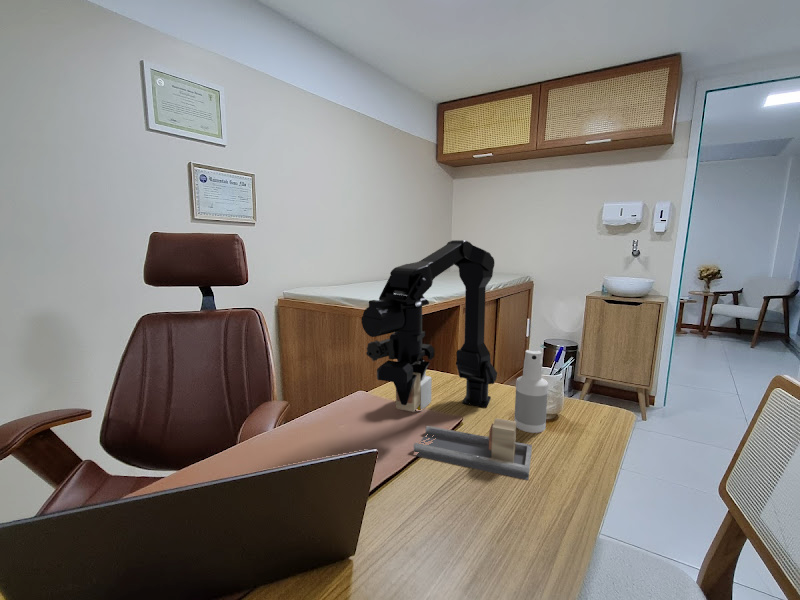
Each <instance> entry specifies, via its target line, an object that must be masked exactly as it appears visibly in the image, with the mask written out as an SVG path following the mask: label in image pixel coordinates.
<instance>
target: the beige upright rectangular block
mask: <svg viewBox="0 0 800 600" xmlns="http://www.w3.org/2000/svg"><path fill="white" fill-rule="evenodd" d="M489 427H490V428H489V431H488V432H489V433H488V434H489V436H488V437H489V450H492V454H491V458H492V459H497V460H502V461H507V462H512V463H513V462H514V457H515V442H517V441H516V437H517V427H516V421H514V420H509V419H503V418H497V417H496V418H494V421H493V423H491V425H490V426H489Z"/></svg>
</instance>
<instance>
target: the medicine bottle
mask: <svg viewBox="0 0 800 600" xmlns="http://www.w3.org/2000/svg"><path fill="white" fill-rule="evenodd" d="M426 371H427V370H426ZM426 371H425V374H424V376H423V378H422V380H421V395H420V405H419V407H418V408H417V409H418V410H421V409H423V408H424V409H426V407H428V405H429V404H430V403H431V402H432V379H433V378H432V377H431V376H429V375H427V374H426V373H427V372H426ZM424 409H423V410H424Z"/></svg>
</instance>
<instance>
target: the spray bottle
mask: <svg viewBox="0 0 800 600" xmlns="http://www.w3.org/2000/svg"><path fill="white" fill-rule="evenodd" d="M542 353H543V352H542V351H541V350H530V349H526V350H525V356H524V360H523V369H522V375H521V376H519V377H517V378H516V381H515V400H514V401H515V403H514V420H513V421H516V429H518V430H520V431H523V432H526V433H531V434H533V433H534V434H538V433H541V432H544V431H545V430H546V424H547V421H546V420H547V407H548V391H549V382H548V381H547V380H546V379H545V378H543V360H542V355H543V354H542Z"/></svg>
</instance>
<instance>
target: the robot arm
mask: <svg viewBox="0 0 800 600" xmlns="http://www.w3.org/2000/svg"><path fill="white" fill-rule="evenodd" d="M453 266H455V267H457V268H458V273H459V278H460V280H461V282H462V283H463V285H464V288H465V293H464V294H465V296H464V298H465V299H464V300H465V303H464V306H465V307H464V341H463V344H462V345H461V347H460V348H459V349H457V350H456V361H455V365H456V368H457V372H458V376H459V378H461V379H466V383H465V384H466V386H465V387H466V389H465V390H466V391H465V392H466V393H465V396H464V398H463V400H462V404H464V405H469V406H476V407H483V408H488V406H489V405H490V403H491V402H490V401H491V399H492V396H490V395H489V385H493V384H495V382H496V381H497V377H498V371H497V370H496V369H495V367H494V365H493V364H492V363H491V352H490V350H489V349H488V347H487V345H486V344H485V322H486V321H485V320H486V319H485V318H486V317H485V316H486V288H487V286H488V284H489V282H490V281H491V279H492V278H493V275H494V274H493V273H494V269H495V268H494V267H495V258H494V257H493V256H492V254H491V253H490V252H488V251H487V250H485V249H483V248H481V247H478V246H476V245H473V244H472V243H471V242H470V241H467V240H465V239H463V240H462V239H461V240H459V239H458V240H454V239H453V240H450V241H448V242H447V243H446V245H444V246H442V247H440V248H439V249H437V250H436V251H435V252H432V253H431V254H429V255H427V256H426V257H424V258H422V259H421V260H419V261H416V262H410V263H406V264H401V265H398V266H396V267H394V268H393V269H392V270H391V271H390V275H389V277H388V280H387V282H386V283H385V285H384V287H383V289H382V291H381V293H380V295H379V298H378V300H377V299H371V300H369V301H368V307H366V308H365V309H364V311H363V314H362V316H361V325H362V329H363V330H364V333H366V335H368V337H371V338H376V337H380V336H381V337H382V336H384V335H388V334H390V335H389V338H387V339H383V340H380V341H378V339H377V340H374V341H370V342H368V343H367V347H366V353H365V354H366V356H368V357H369V358H370V359H371V360H372V362H375V361H377V360H379V359H382V358H383V359H384V358H386V357H388V360H386V361H385V362H384V363H382V364H381V365H380V366H379V367H377V369H376V379H377V380H378V381H383V382H391V383H393V384H394V387H395V391H396V390H397V393H398V396H399V399H400V402H401V404H402V405H406V404H407V402H408V399H409V397H410V394H411V391H412V388H413V385H414V382H415V380H416V377H417V375H413V372H415V373H421V380H422V378H423V376H424V374H425V371H427V369H428V367H429V366H430V361H432V360H433V359H434V357H435V348H434V347H433V345H432V344H426V343H423V338H424V337H426V331H425V330H424V331H423V306H427V305H429V303H430V301H429V300H428V299H427V298H426V297H425V296H424V294H425V293H426V292H427V291H428V290H429V289H430V288H432V286H433V282H434V279H435V278H436V277H438V276H440V275H441V274H442V273H444V272H445V271H447V270H449V269H450V268H451V267H453ZM423 357H427V359H428V360H430V361H425V360H424V358H423Z"/></svg>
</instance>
